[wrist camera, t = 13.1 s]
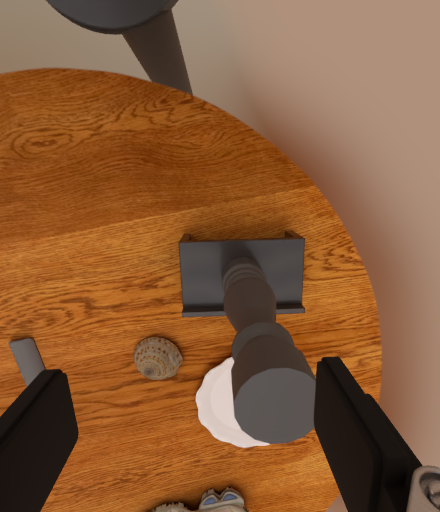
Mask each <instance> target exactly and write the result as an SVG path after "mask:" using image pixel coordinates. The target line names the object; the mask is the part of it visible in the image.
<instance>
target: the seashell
mask: <svg viewBox="0 0 440 512" xmlns="http://www.w3.org/2000/svg"><path fill="white" fill-rule="evenodd" d="M134 361H135V364H136V367H137V369H138V370H139V372H140V373H141V374H142V375H144V376H145V377H147V378H149V379H153V380H160V379H164V378H169V377H172V376H174V375H175V374H176V373H177V371H178V367H179V366H180V365H181V364H182V356H181V354H180V353H179V350H178V349H177V347H176V346H175V345H174V344H173V343H172V342H170V341H168V340H166V339H164V338H160V337H150V338H146V339H144V340H142V341H141V342H140V343H139V344H138V345H137V347H136V349H135V354H134Z"/></svg>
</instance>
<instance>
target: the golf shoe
mask: <svg viewBox="0 0 440 512" xmlns="http://www.w3.org/2000/svg"><path fill="white" fill-rule="evenodd" d="M153 512H248V510H247V508H246V507H245V506H244V499H243V497H242V496H241V494H240V493H239V492H237V491H235V490H234V489H233V487H231V488H228V487H227V488H226V489H225V490H224V491H223V492H222V494H221V495H218V494H217V493H215V490H214V489H213V488H212V490H210V489H209V490H208V493H207V492H205V493H204V494H203V495H202V500H201V502H200V505H199V508H198V510H197V511H190V510H188V509H187V506H186V507H184V504H183V503H180V502H179V504H177V503H176V505H175V504H174V502H172V504H171V505H170V504H169V505H168V506H167V507H166V503H165V505H163V504H162V506H161V505H160V506H159V507H156V511H155V510H154V509H153Z"/></svg>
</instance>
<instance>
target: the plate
mask: <svg viewBox="0 0 440 512" xmlns="http://www.w3.org/2000/svg"><path fill="white" fill-rule="evenodd" d="M233 364H234V360H233V358H232V357H230V358H227V359H226V360H225V361H224V362H223V363H221V364H220V365H219V366H217V367H215V368H213V369H211V370H210V371H209V372H208V373H207V374H206V375H205V376H204V380H203V383H202V385H201V387H200V388H199V390H198V391H197V394H196V404H197V407H198V418H199V420H200V422H201V424H202V425H204V426H205V427H206V428H207V429H208V430H209V431H210V432H211V434H212V435H213V437H215V438H216V439H218V440H220V441H223V442H228V443H231V444H233V445H235V446H237V447H244V448H248V447H252V446H266V445H270V444H269V443H265V442H262V441H258V440H254V439H253V438H252V437H250V436H249V435H248V434H246V433H245V432H244V431H242V430H241V428H240V426H239V424H238V423H237V421H236V419H235V417H234V405H233V392H232V378H231V369H232V366H233Z"/></svg>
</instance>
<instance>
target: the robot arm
mask: <svg viewBox="0 0 440 512" xmlns="http://www.w3.org/2000/svg"><path fill="white" fill-rule="evenodd" d="M314 427H315V431H316V433H317V436H318V438H319V441H320V443H321V446H322V448H323V451H324V453H325V456H326V458H327V461H328V463H329V466H330V468H331V471H332V473H333V476H334V478H335V480H336V483H337V485H338V488H339V490H340V493H341V495H342V498H343V500H344V503H345V505H346V508H347V510H348V512H440V468H439V467H435V466H422V464H421V463H420V461H419V460H418V459H417V457H416V456H415V455H414V453H413V452H412V450H411V449H410V448H409V446H408V445H407V444H406V442H405V441H404V439H403V438H402V437H401V435H400V434H399V433H398V431H397V430H396V429H395V427H394V426H393V424H392V423H391V422H390V420H389V419H388V417H387V416H386V415H385V413H384V412H383V411H382V409H381V408H380V406H379V405H378V404H377V402H376V401H375V400H374V398H373V397H372V396H371V395H369V394H365V393H364V392H363V390H362V389H361V387H360V386H359V384H358V383H357V382H356V380H355V379H354V377H353V376H352V374H351V373H350V372H349V370H348V369H347V367H346V366H345V364H344V363H343V362H342V360H341V359H340V358H339V357H323V358H322V360H321V361H320V362H317V371H316V387H315V403H314ZM77 439H78V427H77V422H76V417H75V412H74V407H73V403H72V398H71V393H70V388H69V384H68V379H67V375H66V374H65V373H63V372H62V371H61V370H60V369H52V370H42V371H41V372H40V373H39V374H38V375H37V376H36V378H35V379H34V380H33V381H32V382H31V383H30V384H29V385H28V387H27V388H26V389H25V390H24V391H23V392H22V393H21V394H20V395H19V397H18V398H17V399H16V400H15V401H14V402H13V403H12V404H11V405H10V407H9V408H8V409H7V410H6V411H5V412H4V413H3V414H2V416H1V417H0V512H40V511H41V509H42V507H43V505H44V504H45V502H46V500H47V498H48V496H49V494H50V492H51V490H52V488H53V486H54V484H55V482H56V480H57V479H58V477H59V475H60V473H61V471H62V469H63V467H64V465H65V463H66V461H67V459H68V457H69V456H70V454H71V452H72V450H73V448H74V446H75V444H76V442H77Z"/></svg>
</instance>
